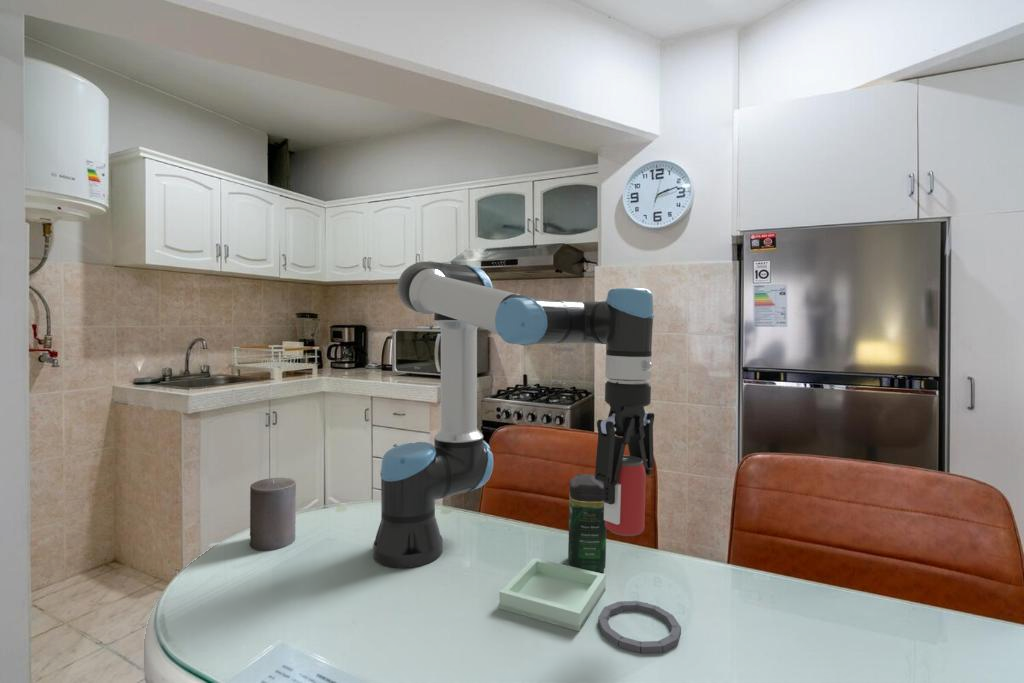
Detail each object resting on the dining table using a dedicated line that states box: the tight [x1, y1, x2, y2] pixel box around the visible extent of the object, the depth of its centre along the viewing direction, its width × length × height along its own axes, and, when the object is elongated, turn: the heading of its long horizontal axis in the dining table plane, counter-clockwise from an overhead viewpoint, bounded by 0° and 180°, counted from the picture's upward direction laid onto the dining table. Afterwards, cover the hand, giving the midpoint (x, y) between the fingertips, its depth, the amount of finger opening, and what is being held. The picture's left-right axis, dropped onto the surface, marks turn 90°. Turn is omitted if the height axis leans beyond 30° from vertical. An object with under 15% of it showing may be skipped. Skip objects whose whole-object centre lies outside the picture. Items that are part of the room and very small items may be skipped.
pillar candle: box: [249, 477, 297, 552], centre depth 118 cm, size 10×10×15 cm
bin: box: [499, 557, 607, 632], centre depth 94 cm, size 15×15×3 cm
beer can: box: [605, 454, 647, 537], centre depth 86 cm, size 7×7×12 cm
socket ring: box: [597, 600, 682, 654], centre depth 85 cm, size 13×13×1 cm
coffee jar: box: [567, 473, 608, 573], centre depth 108 cm, size 10×8×19 cm
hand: (624, 515), depth 86 cm, fingers closed on beer can, 6 cm apart
